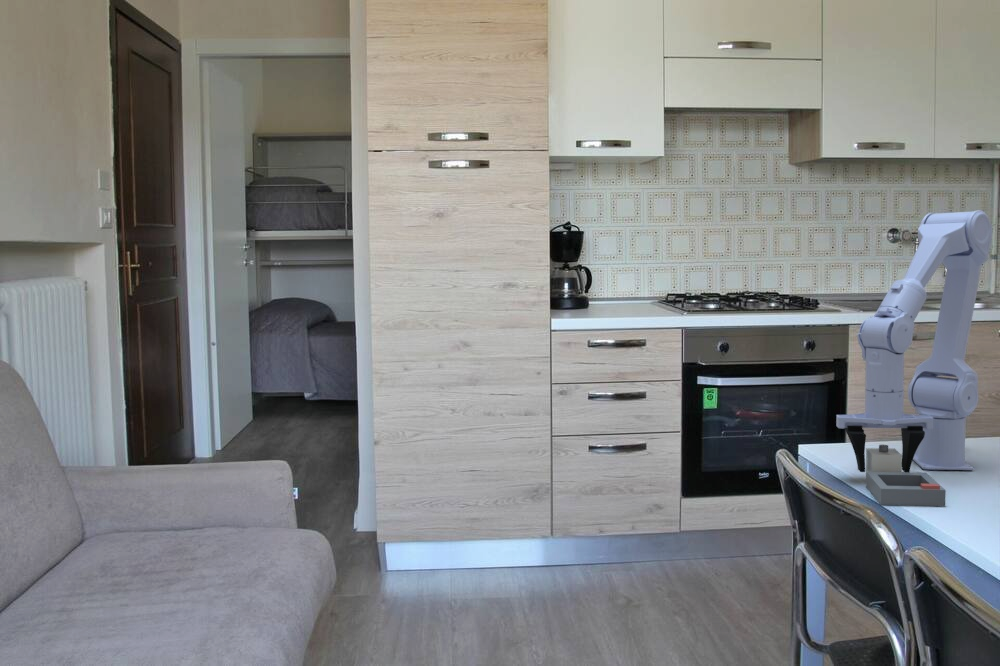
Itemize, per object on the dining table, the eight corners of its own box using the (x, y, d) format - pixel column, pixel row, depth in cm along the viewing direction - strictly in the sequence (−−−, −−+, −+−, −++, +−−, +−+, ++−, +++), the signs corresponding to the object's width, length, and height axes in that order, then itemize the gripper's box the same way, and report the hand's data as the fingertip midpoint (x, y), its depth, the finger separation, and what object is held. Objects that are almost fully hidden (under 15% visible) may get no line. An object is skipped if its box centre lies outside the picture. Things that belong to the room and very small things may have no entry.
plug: (865, 477, 146) (866, 442, 146) (894, 477, 146) (894, 442, 145) (871, 484, 142) (872, 448, 141) (901, 485, 141) (901, 448, 141)
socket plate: (866, 486, 141) (866, 468, 140) (926, 487, 139) (926, 469, 139) (880, 504, 131) (880, 485, 130) (945, 506, 129) (945, 486, 129)
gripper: (842, 393, 140) (841, 476, 141) (939, 393, 137) (938, 478, 138) (834, 386, 147) (833, 465, 148) (926, 386, 144) (925, 466, 145)
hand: (883, 471), depth 144 cm, fingers open, 6 cm apart
